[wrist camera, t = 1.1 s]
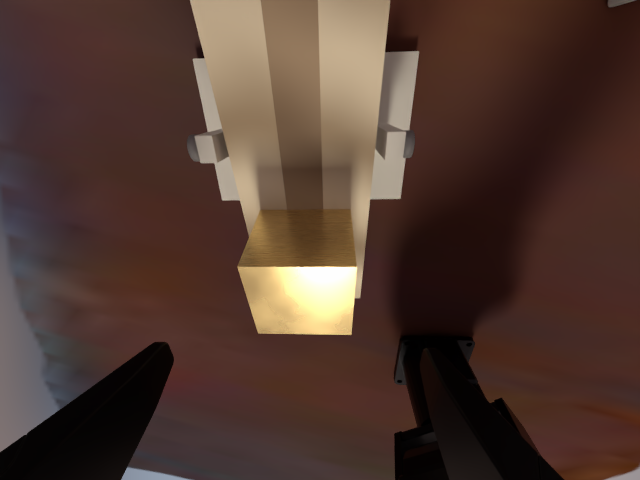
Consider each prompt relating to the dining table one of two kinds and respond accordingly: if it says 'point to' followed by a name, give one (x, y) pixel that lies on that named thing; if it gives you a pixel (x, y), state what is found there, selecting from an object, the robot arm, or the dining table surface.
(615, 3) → the small box
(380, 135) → the pivot stand
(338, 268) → the wooden block
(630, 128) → the dining table surface
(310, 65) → the beam
